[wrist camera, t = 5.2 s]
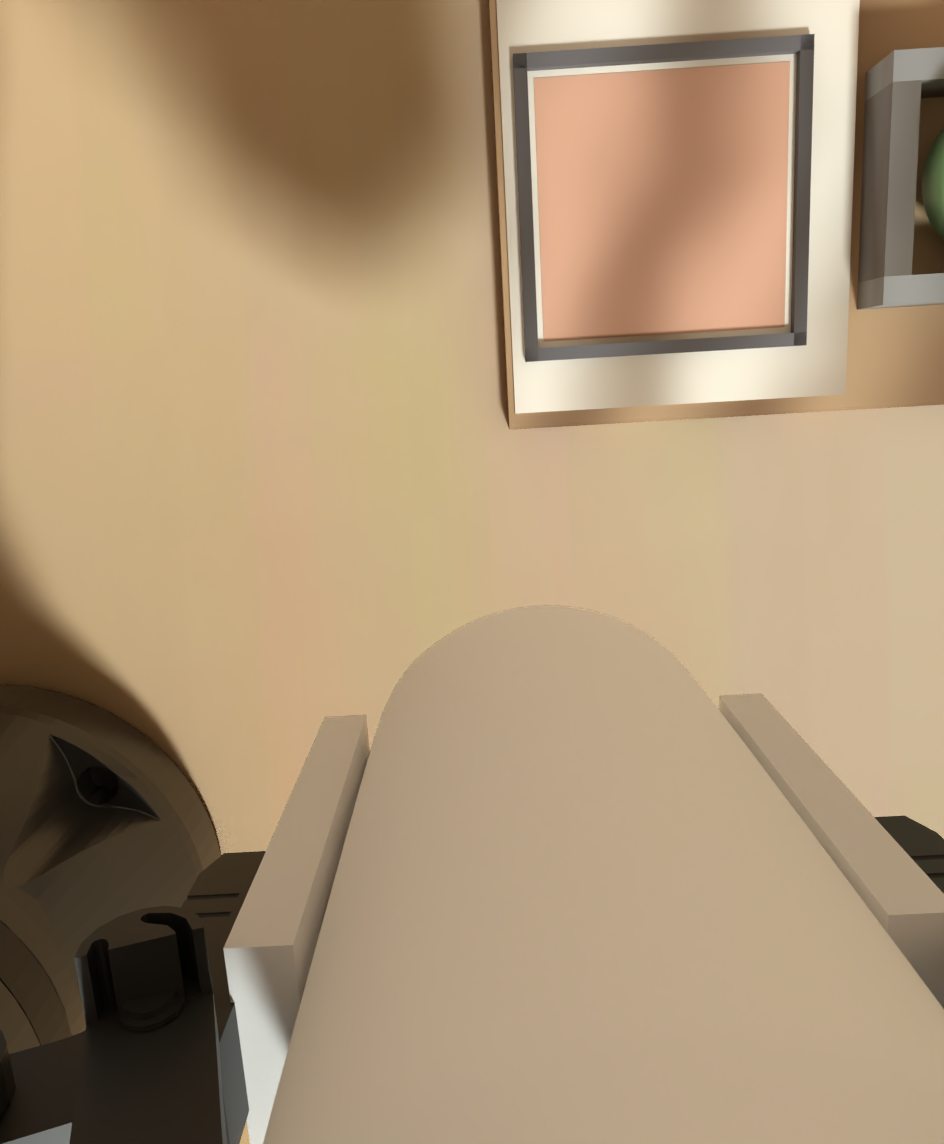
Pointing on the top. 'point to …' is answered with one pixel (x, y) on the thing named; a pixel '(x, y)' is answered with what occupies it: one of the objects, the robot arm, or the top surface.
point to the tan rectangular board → (717, 207)
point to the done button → (935, 185)
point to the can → (593, 924)
